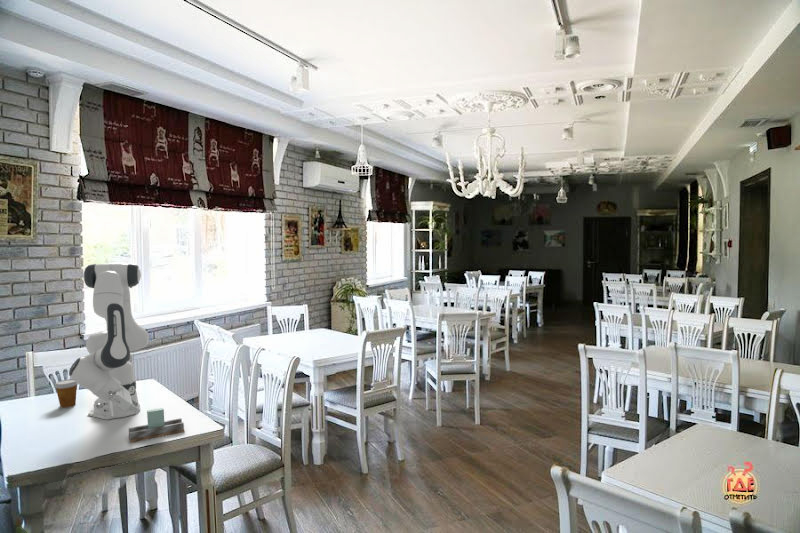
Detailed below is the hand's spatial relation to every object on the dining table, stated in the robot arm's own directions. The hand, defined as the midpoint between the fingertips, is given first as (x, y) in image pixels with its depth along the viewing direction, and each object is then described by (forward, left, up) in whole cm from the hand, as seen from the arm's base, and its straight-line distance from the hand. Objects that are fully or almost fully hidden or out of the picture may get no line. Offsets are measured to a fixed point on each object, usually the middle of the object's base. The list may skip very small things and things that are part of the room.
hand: (138, 408), depth 214 cm
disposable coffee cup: (-67, +24, -12) cm, 72 cm away
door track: (+4, +5, -12) cm, 13 cm away
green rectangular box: (+4, +5, -11) cm, 12 cm away
